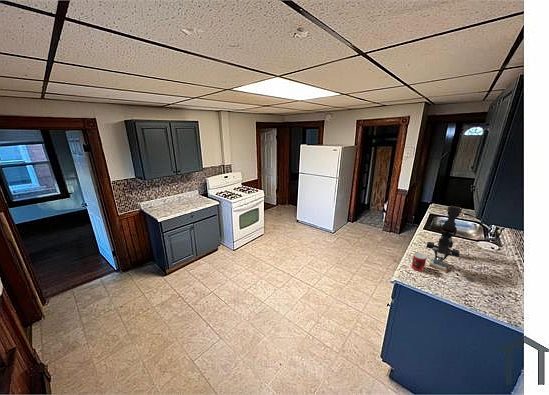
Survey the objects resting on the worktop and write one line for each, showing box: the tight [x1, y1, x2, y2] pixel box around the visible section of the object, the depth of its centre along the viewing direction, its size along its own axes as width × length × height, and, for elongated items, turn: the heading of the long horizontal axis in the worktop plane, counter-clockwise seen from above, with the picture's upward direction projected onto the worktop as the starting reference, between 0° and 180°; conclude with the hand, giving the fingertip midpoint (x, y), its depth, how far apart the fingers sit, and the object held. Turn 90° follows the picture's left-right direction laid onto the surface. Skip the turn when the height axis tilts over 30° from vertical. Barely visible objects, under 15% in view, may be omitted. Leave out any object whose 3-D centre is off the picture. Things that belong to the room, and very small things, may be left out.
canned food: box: [411, 251, 428, 272], centre depth 157 cm, size 8×8×11 cm
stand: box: [428, 257, 449, 273], centre depth 161 cm, size 10×10×2 cm
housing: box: [433, 255, 444, 266], centre depth 160 cm, size 7×5×4 cm
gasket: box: [465, 276, 475, 283], centre depth 147 cm, size 4×4×1 cm
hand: (439, 259), depth 160 cm, fingers closed on housing, 4 cm apart
